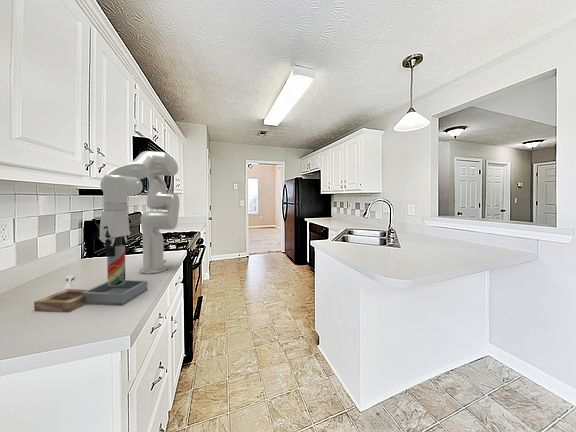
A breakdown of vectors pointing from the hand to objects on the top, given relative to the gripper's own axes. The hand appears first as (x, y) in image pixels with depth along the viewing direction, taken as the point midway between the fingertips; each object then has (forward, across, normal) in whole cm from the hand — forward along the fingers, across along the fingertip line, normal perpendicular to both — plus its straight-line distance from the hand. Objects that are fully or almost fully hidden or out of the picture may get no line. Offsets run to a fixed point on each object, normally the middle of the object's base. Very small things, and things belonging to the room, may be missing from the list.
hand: (116, 254), depth 95 cm
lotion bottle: (+12, 0, 0) cm, 12 cm away
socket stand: (+17, +8, -12) cm, 22 cm away
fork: (+17, -13, -32) cm, 38 cm away
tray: (+17, 0, 0) cm, 17 cm away
